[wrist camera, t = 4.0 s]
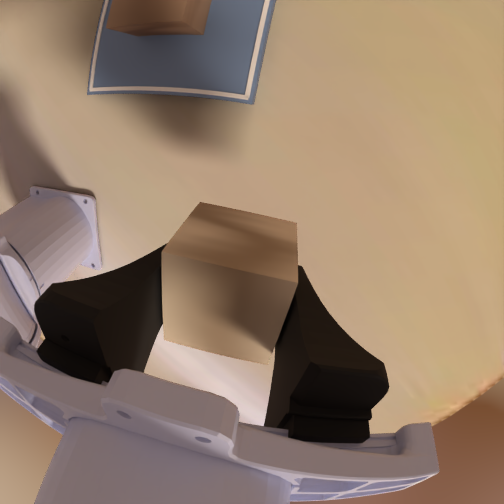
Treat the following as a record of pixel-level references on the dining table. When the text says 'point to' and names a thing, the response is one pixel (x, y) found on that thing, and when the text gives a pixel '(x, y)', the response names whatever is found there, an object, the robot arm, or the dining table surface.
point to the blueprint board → (181, 48)
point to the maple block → (229, 282)
